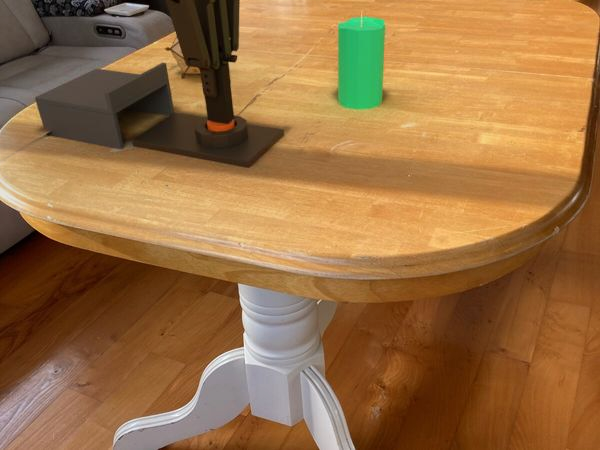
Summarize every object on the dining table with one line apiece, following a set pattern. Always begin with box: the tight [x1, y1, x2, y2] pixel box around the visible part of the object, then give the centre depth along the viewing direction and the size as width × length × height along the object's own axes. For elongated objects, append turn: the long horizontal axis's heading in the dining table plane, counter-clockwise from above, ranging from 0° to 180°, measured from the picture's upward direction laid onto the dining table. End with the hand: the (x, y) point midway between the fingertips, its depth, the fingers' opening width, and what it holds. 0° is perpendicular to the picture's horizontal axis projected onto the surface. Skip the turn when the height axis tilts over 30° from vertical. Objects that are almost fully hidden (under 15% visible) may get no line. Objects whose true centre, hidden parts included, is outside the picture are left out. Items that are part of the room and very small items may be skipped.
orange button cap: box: [207, 119, 235, 132], centre depth 69 cm, size 3×3×2 cm
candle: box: [337, 10, 386, 110], centre depth 76 cm, size 6×6×12 cm
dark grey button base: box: [131, 111, 285, 169], centre depth 70 cm, size 16×9×2 cm, turn 66°
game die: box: [164, 35, 201, 79], centre depth 89 cm, size 9×8×10 cm
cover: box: [34, 62, 175, 150], centre depth 74 cm, size 12×11×7 cm
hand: (221, 119), depth 68 cm, fingers closed
